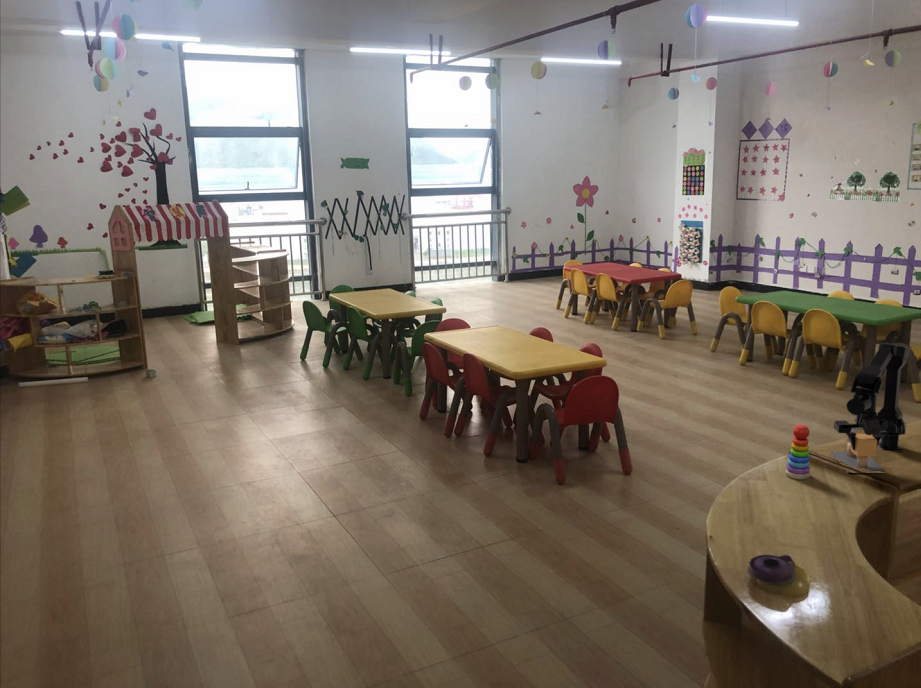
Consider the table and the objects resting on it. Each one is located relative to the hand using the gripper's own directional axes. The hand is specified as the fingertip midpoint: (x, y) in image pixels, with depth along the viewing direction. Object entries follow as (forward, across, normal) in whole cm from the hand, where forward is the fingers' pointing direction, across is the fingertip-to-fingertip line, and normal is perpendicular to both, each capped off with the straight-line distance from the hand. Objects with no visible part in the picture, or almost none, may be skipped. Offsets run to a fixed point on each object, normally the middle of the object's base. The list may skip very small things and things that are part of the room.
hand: (863, 449), depth 257 cm
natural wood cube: (+1, 0, 0) cm, 1 cm away
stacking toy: (+7, -23, -6) cm, 25 cm away
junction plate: (+7, 0, +5) cm, 9 cm away
